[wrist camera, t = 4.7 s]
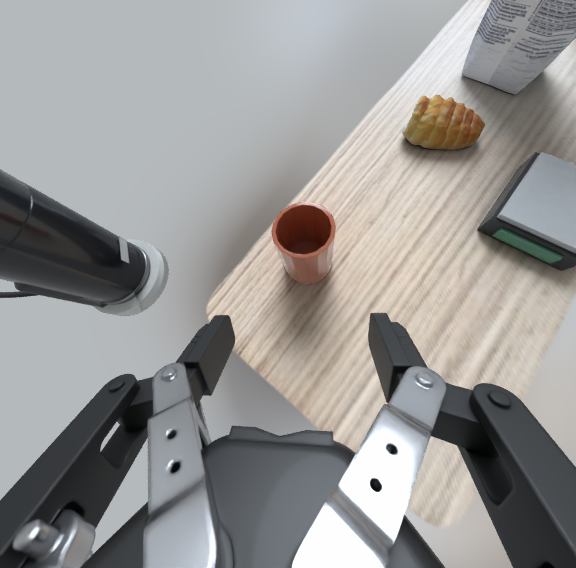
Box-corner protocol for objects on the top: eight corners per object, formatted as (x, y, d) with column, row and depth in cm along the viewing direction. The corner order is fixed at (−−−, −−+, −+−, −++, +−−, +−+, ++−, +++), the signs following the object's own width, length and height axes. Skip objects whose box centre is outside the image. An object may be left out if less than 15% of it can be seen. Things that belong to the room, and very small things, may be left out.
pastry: (480, 124, 30) (502, 93, 27) (468, 161, 29) (488, 134, 25) (411, 112, 33) (422, 83, 29) (396, 146, 31) (406, 119, 28)
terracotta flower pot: (302, 293, 27) (295, 270, 19) (276, 258, 29) (260, 225, 21) (341, 265, 27) (349, 232, 20) (312, 233, 29) (309, 191, 22)
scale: (559, 273, 23) (590, 263, 21) (475, 232, 26) (492, 218, 23) (603, 198, 25) (637, 180, 22) (519, 166, 28) (540, 147, 25)
